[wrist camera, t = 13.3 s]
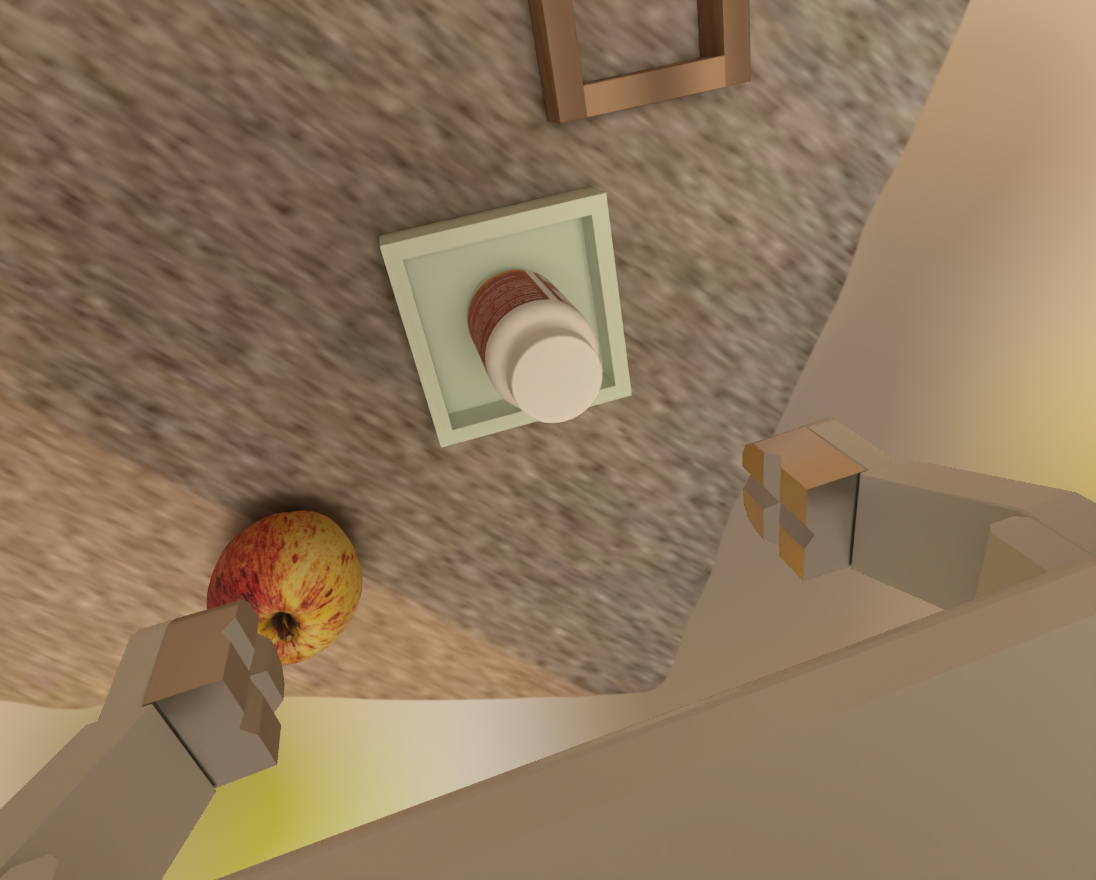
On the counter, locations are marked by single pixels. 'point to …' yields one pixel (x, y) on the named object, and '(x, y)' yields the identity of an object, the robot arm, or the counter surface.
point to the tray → (472, 257)
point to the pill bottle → (535, 345)
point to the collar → (573, 99)
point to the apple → (292, 581)
